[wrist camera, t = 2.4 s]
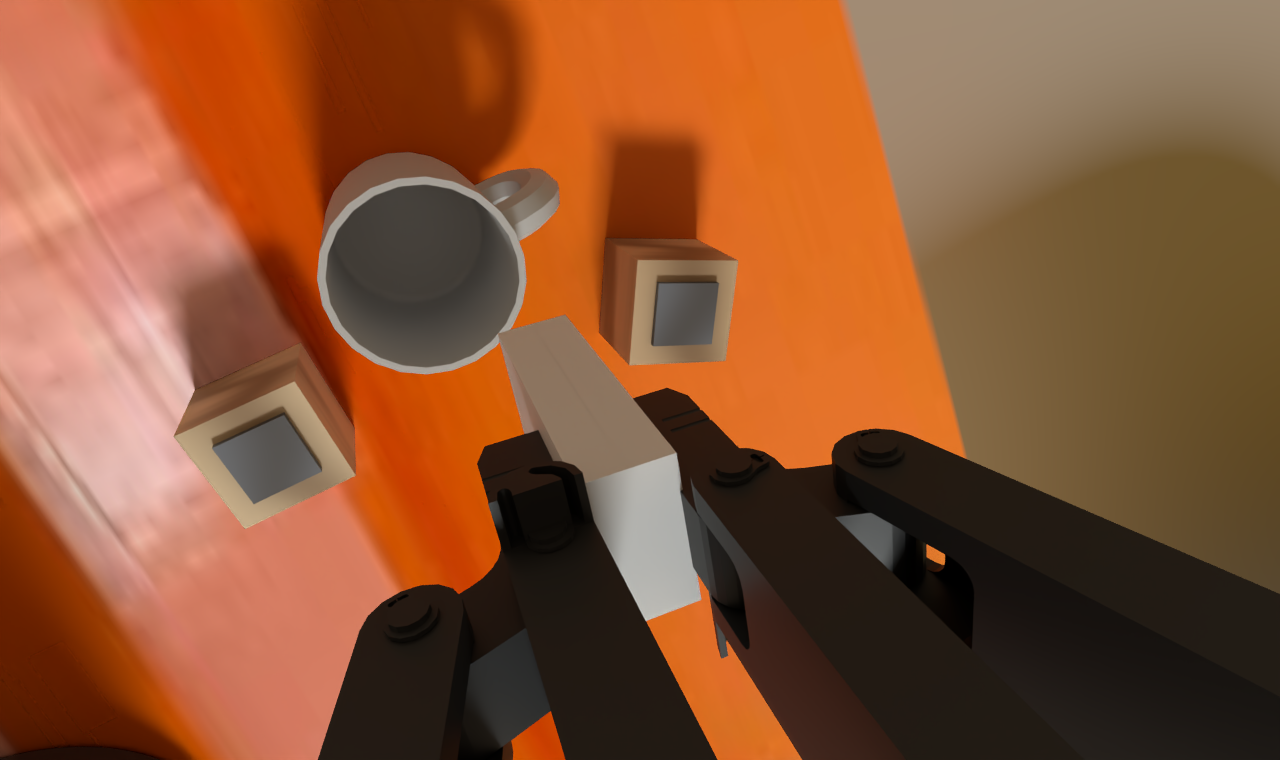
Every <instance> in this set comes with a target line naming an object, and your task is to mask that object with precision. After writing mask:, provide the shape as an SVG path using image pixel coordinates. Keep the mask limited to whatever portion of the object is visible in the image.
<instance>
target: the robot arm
mask: <svg viewBox="0 0 1280 760" xmlns="http://www.w3.org/2000/svg"><path fill="white" fill-rule="evenodd" d="M498 337H499V341H500V344H501V348H502V352H503V355H504V359H505V363H506V367H507V370H508V374H509V378H510V382H511V385H512V389H513V393H514V396H515V400H516V404H517V408H518V411H519V415H520V419H521V422H522V426H523V430H524V434H523V435H520V436H517V437H514V438H511V439H507V440H504V441H501V442H498V443H494V444H491V445H488V446H485V447H484V449H483V451H482V454H481V456H480V458H479V461H478V463H477V465H478V468H479V471H480V475H481V478H482V481H483V485H484V488H485V492H486V495H487V498H488V505H489V508H490V511H491V514H492V518H493V521H494V524H495V527H496V531H497V534H498V537H499V540H500V544H501V551H500V555H499V558H498V560H497V562H496V563H495V565H494V567H493V568H492V569H491V570H490V571H489V572H488V573H487V574H486V575H485V577H484V578H483V579H481V580H480V581H478V582H477V583H476V584H474V585H473V586H471V587H470V588H468V589H467V590H465V591H463V592H462V593H460V594H458V593H457V592H456V591H455V590H454V589H453V588H449V587H446V586H442V585H439V584H437V585H421V586H417V587H414V588H411V589H408V590H405V591H402V592H399V593H398V594H396V595H394V596H393V597H391V598H389V599H387V600H386V601H384V602H382V603H381V604H380V605H379V606H378V607H377V608H376V609H375V610H374V611H373V612H372V613H371V614H370V615H369V616H368V617H367V619H366V621H365V622H364V624H363V626H362V628H361V629H360V631H359V634H358V638H357V641H356V644H355V647H354V650H353V653H352V656H351V659H350V662H349V665H348V668H347V671H346V675H345V678H344V681H343V684H342V687H341V690H340V693H339V696H338V699H337V702H336V705H335V708H334V712H333V715H332V718H331V721H330V724H329V727H328V730H327V733H326V736H325V739H324V742H323V745H322V749H321V752H320V755H319V758H318V760H513V748H512V743H511V740H512V739H513V738H515V737H516V736H517V735H519V734H520V733H522V732H523V731H524V730H526V729H527V728H528V727H530V726H531V725H532V724H534V723H535V722H536V721H538V720H539V719H540V718H542V717H543V716H544V715H546V714H547V713H548V712H550V711H551V713H552V716H553V719H554V722H555V726H556V729H557V732H558V736H559V739H560V742H561V746H562V749H563V752H564V756H565V759H566V760H717V758H716V756H715V754H714V752H713V750H712V748H711V746H710V744H709V742H708V740H707V739H706V737H705V735H704V733H703V731H702V729H701V727H700V725H699V723H698V721H697V719H696V717H695V715H694V713H693V711H692V710H691V708H690V706H689V704H688V702H687V700H686V698H685V696H684V694H683V692H682V690H681V688H680V686H679V684H678V682H677V681H676V679H675V677H674V675H673V673H672V671H671V669H670V667H669V665H668V663H667V661H666V659H665V657H664V655H663V653H662V652H661V650H660V648H659V646H658V644H657V642H656V640H655V638H654V636H653V634H652V632H651V630H650V628H649V626H648V624H647V622H646V621H647V620H650V619H652V618H655V617H657V616H660V615H663V614H665V613H668V612H671V611H673V610H676V609H678V608H681V607H684V606H686V605H689V604H692V603H694V602H697V601H699V600H701V595H700V589H699V583H698V577H697V574H698V575H699V577H700V578H701V580H702V582H703V583H704V585H705V586H706V588H707V589H708V591H709V596H710V602H711V608H712V614H713V620H714V626H715V633H716V639H717V645H718V649H719V652H720V656H721V658H724V657H726V656H728V653H727V646H726V641H728V642H729V644H730V645H731V647H732V649H733V650H734V652H735V653H736V655H737V656H738V658H739V660H740V661H741V663H742V664H743V666H744V668H745V669H746V671H747V672H748V674H749V676H750V677H751V679H752V680H753V682H754V683H755V685H756V687H757V688H758V690H759V691H760V693H761V695H762V696H763V698H764V699H765V701H766V703H767V704H768V706H769V707H770V709H771V710H772V712H773V714H774V715H775V717H776V718H777V720H778V722H779V723H780V725H781V726H782V728H783V730H784V731H785V733H786V734H787V736H788V737H789V739H790V741H791V742H792V744H793V745H794V747H795V749H796V750H797V752H798V753H799V755H800V757H801V758H802V760H1280V594H1278V593H1276V592H1274V591H1271V590H1269V589H1267V588H1264V587H1262V586H1260V585H1258V584H1255V583H1253V582H1251V581H1248V580H1246V579H1243V578H1241V577H1239V576H1236V575H1234V574H1232V573H1230V572H1227V571H1225V570H1223V569H1220V568H1218V567H1216V566H1213V565H1211V564H1209V563H1206V562H1204V561H1202V560H1199V559H1197V558H1195V557H1192V556H1190V555H1188V554H1186V553H1183V552H1181V551H1179V550H1176V549H1174V548H1172V547H1169V546H1167V545H1164V544H1162V543H1160V542H1158V541H1155V540H1153V539H1151V538H1148V537H1146V536H1144V535H1141V534H1139V533H1137V532H1134V531H1132V530H1130V529H1127V528H1125V527H1122V526H1120V525H1118V524H1116V523H1114V522H1111V521H1109V520H1106V519H1104V518H1102V517H1100V516H1097V515H1094V514H1093V513H1090V512H1088V511H1086V510H1083V509H1081V508H1079V507H1076V506H1074V505H1072V504H1069V503H1067V502H1065V501H1062V500H1060V499H1058V498H1055V497H1053V496H1051V495H1048V494H1046V493H1044V492H1042V491H1039V490H1037V489H1035V488H1032V487H1030V486H1028V485H1025V484H1023V483H1020V482H1018V481H1016V480H1014V479H1011V478H1009V477H1007V476H1004V475H1002V474H1000V473H997V472H995V471H993V470H990V469H988V468H986V467H983V466H981V465H979V464H977V463H974V462H972V461H970V460H967V459H965V458H963V457H960V456H958V455H956V454H953V453H951V452H949V451H946V450H944V449H942V448H939V447H937V446H935V445H932V444H930V443H928V442H925V441H923V440H921V439H918V438H916V437H914V436H911V435H909V434H906V433H902V432H899V431H895V430H886V429H869V430H862V431H857V432H855V433H852V434H849V435H847V436H844V437H843V438H842V439H841V440H839V441H838V442H837V443H836V444H835V445H834V448H833V451H832V464H831V465H823V466H816V467H808V468H797V469H785V468H784V467H783V466H782V465H781V464H780V463H779V462H778V461H777V460H776V459H775V458H773V457H771V456H770V455H768V454H767V453H765V452H763V451H758V450H754V449H750V448H738V447H737V446H736V445H735V444H734V443H733V442H732V440H731V439H730V438H729V437H728V436H727V435H726V434H725V433H724V432H723V431H722V430H721V429H720V428H719V427H718V426H717V425H716V424H715V423H714V422H713V421H712V420H710V419H709V417H708V416H707V415H706V414H705V413H704V412H703V411H702V410H700V408H699V407H698V406H697V405H696V404H695V403H694V401H693V400H692V399H691V398H690V397H689V396H688V395H685V394H682V393H680V392H677V391H674V390H671V389H669V388H665V389H662V390H659V391H655V392H652V393H649V394H646V395H642V396H639V397H636V398H632V397H631V396H630V395H629V393H628V392H627V391H626V390H625V388H624V387H623V386H622V385H621V383H620V382H619V381H618V380H617V378H616V377H615V376H614V375H613V373H612V372H611V371H610V370H609V368H608V367H607V366H606V365H605V364H604V362H603V361H602V360H601V359H600V357H599V356H598V355H597V354H596V352H595V351H594V350H593V349H592V347H591V346H590V345H589V344H588V342H587V341H586V340H585V339H584V337H583V336H582V335H581V334H580V332H579V331H578V330H577V329H576V328H575V326H574V325H573V324H572V323H571V321H570V320H569V319H568V318H567V316H566V315H563V316H559V317H555V318H552V319H548V320H545V321H541V322H537V323H534V324H530V325H527V326H523V327H519V328H516V329H512V330H509V331H505V332H501V333H498ZM926 544H928V545H929V546H931V547H933V548H935V549H937V550H938V551H940V552H942V553H944V554H945V565H941V564H938V563H936V562H934V561H932V560H930V559H929V558H927V557H926ZM0 760H159V759H156V758H154V757H150V756H147V755H144V754H140V753H136V752H131V751H126V750H120V749H112V748H102V747H63V748H52V749H44V750H37V751H32V752H26V753H22V754H17V755H13V756H9V757H6V758H2V759H0Z"/></svg>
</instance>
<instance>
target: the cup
mask: <svg viewBox="0 0 1280 760" xmlns="http://www.w3.org/2000/svg"><path fill="white" fill-rule="evenodd" d="M559 204H560V201H559V187H558V183H557V182H556V181H555V180H554V179H553V178H552V177H551V176H550V175H548V174H547V173H546V172H545V171H543V170H541V169H535V168H528V169H517V170H511V171H507V172H504V173H501V174H498V175H495V176H493V177H491V178H489V179H486V180H484V181H483V182H481V183H479V184H477V185H473V184H472V183H471V182H470V181H469V180H468V179H467V178H465V177H464V176H463V175H462V174H461V173H460V172H458V171H457V170H456V169H455V168H454V167H453V166H450V165H448V164H446V163H444V162H442V161H440V160H438V159H436V158H434V157H431V156H427V155H422V154H417V153H412V152H401V153H387V154H384V155H381V156H378V157H375V158H372V159H369V160H366V161H365V162H363V163H362V164H361V165H359V166H358V167H356V168H355V169H353V170H352V171H351V172H349V173H348V174H347V175H346V177H345V178H344V179H343V180H342V182H341V183H340V184H339V185H338V187H337V188H336V189H335V191H334V192H333V195H332V197H331V200H330V202H329V205H328V207H327V210H326V213H325V220H324V226H323V233H322V240H321V246H320V254H319V265H318V275H317V281H318V285H319V290H320V295H321V300H322V305H323V307H324V309H325V311H326V313H327V315H328V317H329V319H330V321H331V323H332V325H333V327H334V329H335V330H336V331H337V332H338V333H339V334H340V335H341V336H342V337H343V339H344V340H345V341H346V342H347V343H348V344H349V345H350V346H351V347H352V348H353V349H354V350H356V351H357V352H359V353H360V354H362V355H363V356H365V357H366V358H368V359H370V360H371V361H373V362H374V363H376V364H379V365H382V366H385V367H388V368H391V369H394V370H397V371H400V372H408V373H419V374H432V373H438V372H445V371H451V370H455V369H457V368H459V367H462V366H464V365H467V364H469V363H472V362H474V361H476V360H478V359H479V358H481V357H482V356H483V355H485V354H486V353H487V352H489V351H490V350H491V349H493V348H494V347H496V346H497V344H498V343H499V342H500V341H499V337H498V333H501V332H505V331H509V330H510V329H511V328H512V326H513V324H514V322H515V319H516V317H517V315H518V313H519V311H520V309H521V306H522V303H523V297H524V292H525V286H526V271H525V260H524V254H523V252H522V249H521V246H520V244H519V241H520V240H522V239H524V238H525V237H527V236H529V235H530V234H532V233H533V232H535V231H536V230H538V229H539V228H540V227H541V226H542V225H543V224H544V223H545V222H546V221H547V220H548V219H549V218H550V217H551V216H552V215H553V214H554V213H555V212H556V210H557V208H558V206H559Z"/></svg>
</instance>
